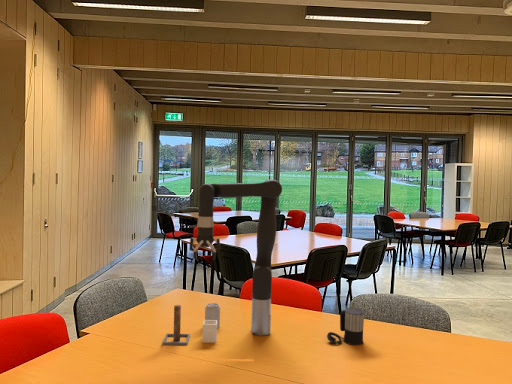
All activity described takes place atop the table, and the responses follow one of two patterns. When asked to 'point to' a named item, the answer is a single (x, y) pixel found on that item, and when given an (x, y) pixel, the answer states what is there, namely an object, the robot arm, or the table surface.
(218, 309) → the can
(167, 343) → the tray
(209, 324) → the cup
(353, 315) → the milk frother
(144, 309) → the table surface
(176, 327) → the dowel
